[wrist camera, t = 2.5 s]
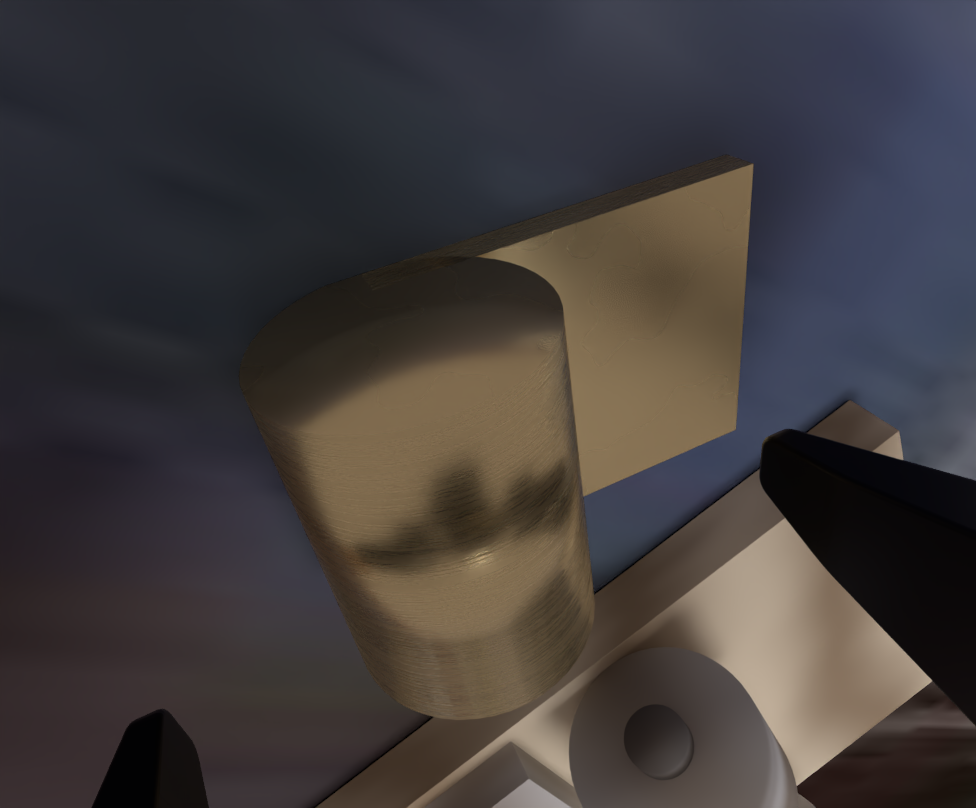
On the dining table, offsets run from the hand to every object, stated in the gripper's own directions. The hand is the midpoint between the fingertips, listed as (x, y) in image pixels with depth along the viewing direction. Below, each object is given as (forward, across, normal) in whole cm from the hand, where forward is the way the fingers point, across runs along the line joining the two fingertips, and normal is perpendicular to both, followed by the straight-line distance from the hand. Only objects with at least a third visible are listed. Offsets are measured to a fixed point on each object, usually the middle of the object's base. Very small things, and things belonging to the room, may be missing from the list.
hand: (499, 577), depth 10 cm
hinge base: (+4, -5, +15) cm, 16 cm away
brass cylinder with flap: (+4, -2, 0) cm, 5 cm away
